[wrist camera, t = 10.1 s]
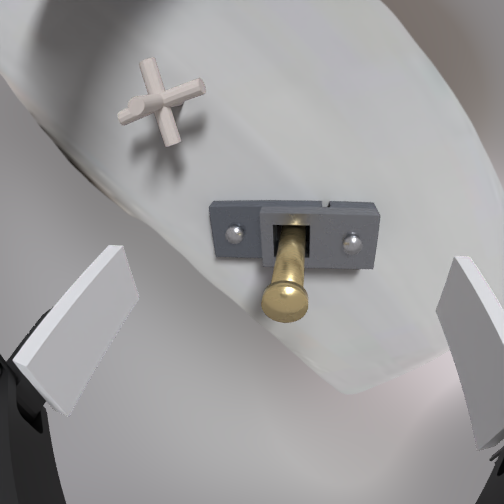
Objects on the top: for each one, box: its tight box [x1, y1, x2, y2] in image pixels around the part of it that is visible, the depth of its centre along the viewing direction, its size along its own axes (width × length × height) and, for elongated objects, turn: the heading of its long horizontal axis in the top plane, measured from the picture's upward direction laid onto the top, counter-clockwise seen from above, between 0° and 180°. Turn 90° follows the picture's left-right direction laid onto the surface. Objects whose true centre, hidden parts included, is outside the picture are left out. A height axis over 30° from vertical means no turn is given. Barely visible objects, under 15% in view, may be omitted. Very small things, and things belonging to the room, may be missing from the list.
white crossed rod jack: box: [118, 57, 206, 147], centre depth 28 cm, size 10×10×10 cm
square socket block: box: [209, 200, 380, 269], centre depth 37 cm, size 7×20×5 cm, turn 94°
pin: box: [261, 225, 308, 323], centre depth 32 cm, size 4×4×15 cm
